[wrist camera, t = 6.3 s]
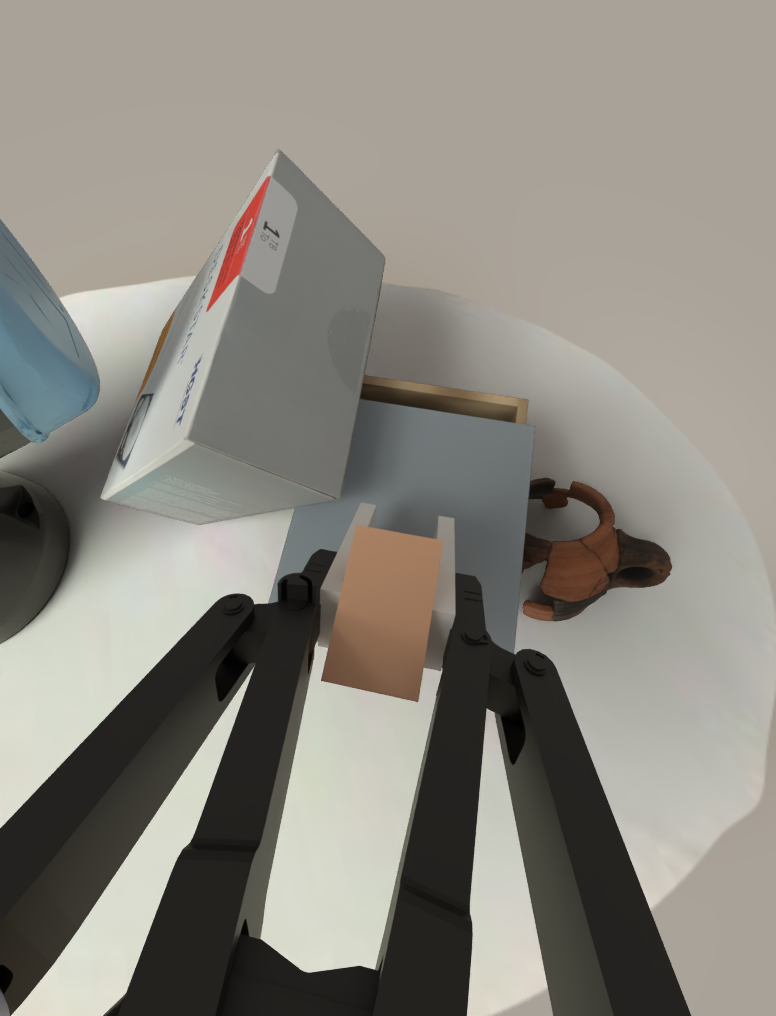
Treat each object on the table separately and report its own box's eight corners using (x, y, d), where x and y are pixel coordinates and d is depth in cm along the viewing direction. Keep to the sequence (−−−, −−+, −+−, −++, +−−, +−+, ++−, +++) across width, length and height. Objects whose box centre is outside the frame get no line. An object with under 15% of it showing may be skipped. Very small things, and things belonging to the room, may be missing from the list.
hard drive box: (159, 326, 32) (280, 139, 18) (246, 374, 37) (392, 257, 23) (94, 502, 28) (185, 436, 13) (202, 529, 33) (350, 502, 18)
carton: (320, 598, 30) (284, 586, 21) (357, 442, 34) (341, 371, 25) (470, 628, 29) (504, 630, 20) (491, 464, 33) (528, 399, 24)
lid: (263, 639, 20) (174, 648, 12) (328, 401, 24) (294, 291, 16) (505, 690, 19) (582, 738, 11) (530, 432, 23) (599, 331, 15)
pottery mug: (483, 621, 30) (482, 555, 24) (493, 533, 36) (494, 464, 31) (662, 648, 26) (709, 578, 21) (638, 544, 33) (669, 468, 27)
